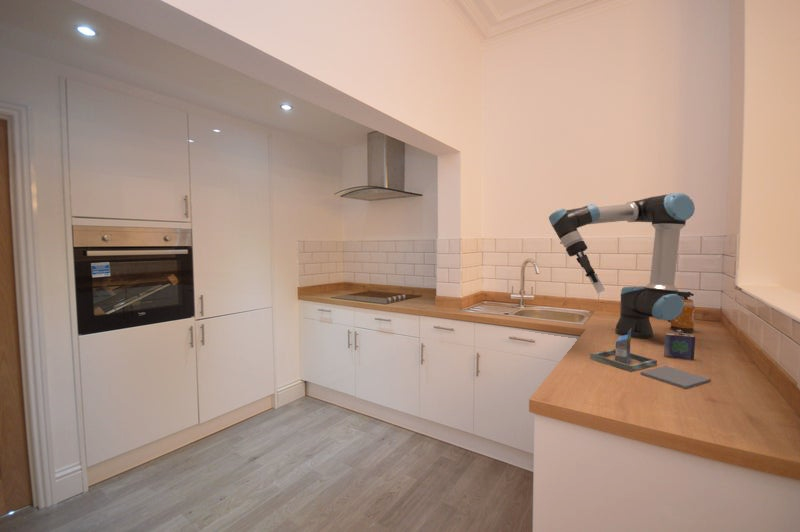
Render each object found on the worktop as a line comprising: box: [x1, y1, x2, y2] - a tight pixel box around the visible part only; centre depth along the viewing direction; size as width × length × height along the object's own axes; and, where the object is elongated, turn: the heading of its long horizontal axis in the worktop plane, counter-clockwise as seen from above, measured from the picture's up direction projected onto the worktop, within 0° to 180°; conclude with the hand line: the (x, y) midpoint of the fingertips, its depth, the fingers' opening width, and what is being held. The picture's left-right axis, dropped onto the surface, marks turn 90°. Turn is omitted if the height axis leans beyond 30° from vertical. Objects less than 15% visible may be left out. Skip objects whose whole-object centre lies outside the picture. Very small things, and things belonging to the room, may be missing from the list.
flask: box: [663, 330, 696, 361], centre depth 134 cm, size 9×3×11 cm, turn 65°
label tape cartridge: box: [614, 328, 632, 365], centre depth 129 cm, size 9×4×12 cm, turn 141°
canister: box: [666, 290, 696, 333], centre depth 175 cm, size 9×11×20 cm
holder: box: [589, 348, 658, 372], centre depth 129 cm, size 15×15×2 cm
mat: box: [640, 365, 712, 390], centre depth 114 cm, size 14×13×1 cm
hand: (601, 291), depth 138 cm, fingers open, 13 cm apart
